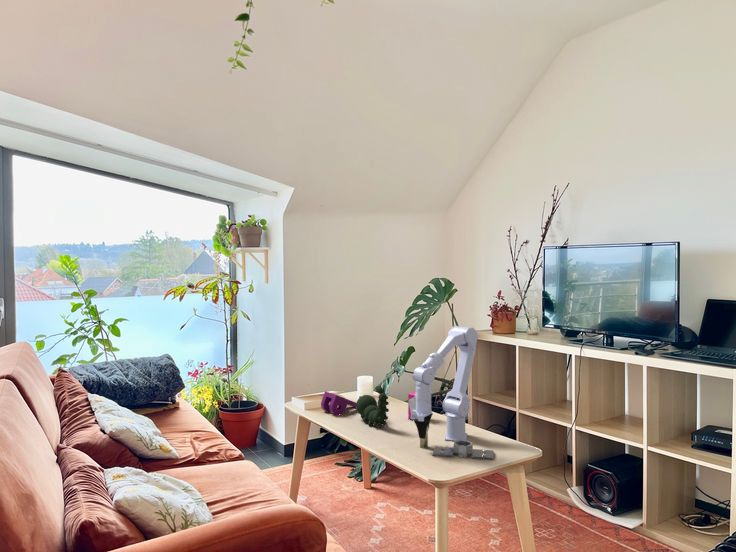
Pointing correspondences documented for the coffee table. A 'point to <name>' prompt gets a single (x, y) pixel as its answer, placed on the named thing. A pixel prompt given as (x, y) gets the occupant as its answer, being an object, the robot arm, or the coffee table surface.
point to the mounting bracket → (335, 403)
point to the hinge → (463, 451)
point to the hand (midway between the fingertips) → (423, 435)
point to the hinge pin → (424, 441)
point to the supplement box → (412, 406)
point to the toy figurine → (373, 408)
